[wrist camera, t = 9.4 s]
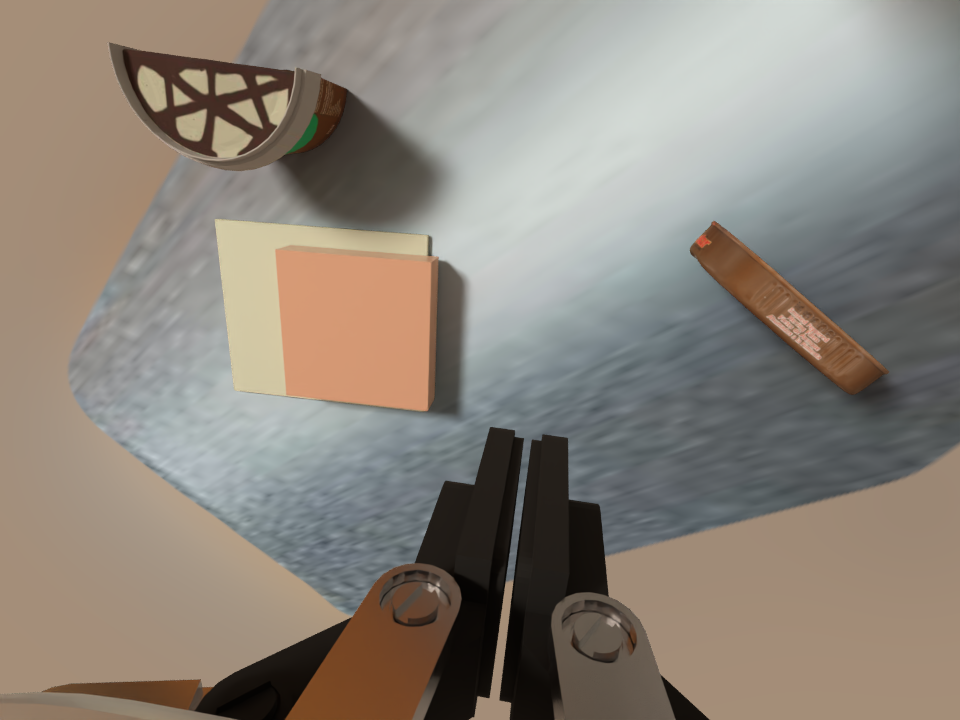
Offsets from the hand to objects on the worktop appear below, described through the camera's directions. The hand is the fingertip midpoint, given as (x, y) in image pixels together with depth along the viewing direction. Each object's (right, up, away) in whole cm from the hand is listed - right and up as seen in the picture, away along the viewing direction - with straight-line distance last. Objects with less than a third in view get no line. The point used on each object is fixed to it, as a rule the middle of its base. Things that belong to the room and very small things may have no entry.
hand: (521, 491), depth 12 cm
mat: (-14, +6, +34) cm, 37 cm away
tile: (-5, +5, +31) cm, 31 cm away
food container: (-16, +20, +29) cm, 39 cm away
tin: (+20, +8, +28) cm, 36 cm away
